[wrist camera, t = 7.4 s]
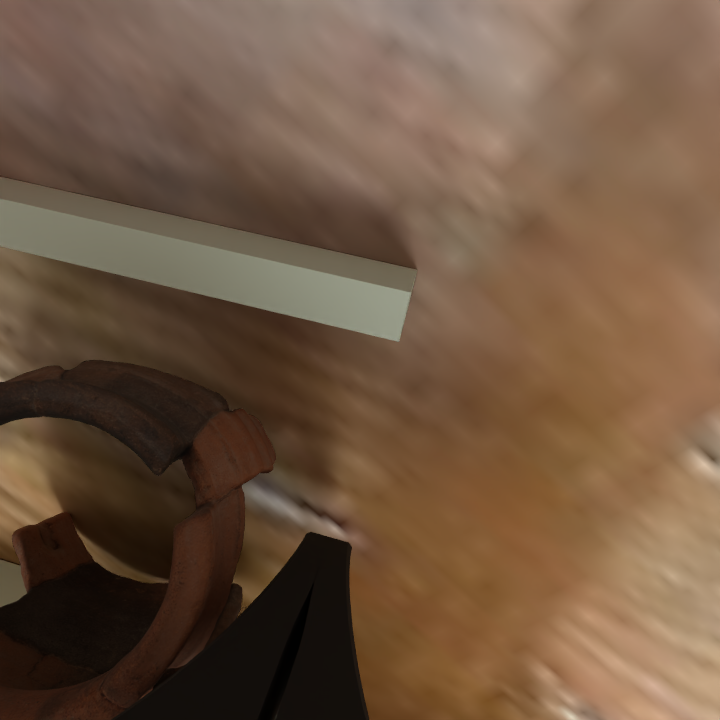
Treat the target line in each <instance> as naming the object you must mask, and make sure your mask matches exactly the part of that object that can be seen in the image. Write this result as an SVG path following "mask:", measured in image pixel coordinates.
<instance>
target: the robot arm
mask: <svg viewBox="0 0 720 720" xmlns="http://www.w3.org/2000/svg"><path fill="white" fill-rule="evenodd" d="M351 549H352V547H351V545H350V544H349V543H348V542H345V541H341V540H338V539H334V538H331V537H327V536H324V535H320V534H317V533H313V532H310V533H307V534H306V535H305V537H304V539H303V541H302V542H301V544H300V545H299V547H298V548H297V550H296V551H295V552H294V554H293V555H292V557H291V558H290V559H289V560H288V562H287V563H286V564H285V566H284V567H283V568H282V569H281V571H280V572H279V573H278V574H277V575H276V576H275V578H274V579H273V580H272V581H271V582H270V584H269V585H268V586H267V587H266V588H265V589H264V591H263V592H262V593H261V594H260V595H259V596H258V597H257V598H256V599H255V600H254V601H253V602H252V603H251V604H250V605H249V606H248V607H247V609H246V610H245V611H244V612H243V613H242V614H241V615H240V616H239V617H238V618H237V619H236V620H235V621H234V622H233V623H232V624H231V625H230V626H229V627H228V628H227V629H225V630H224V631H223V632H222V633H221V634H220V635H219V636H218V637H217V638H216V639H215V640H213V641H212V642H211V643H210V644H209V645H208V646H207V647H206V648H204V649H203V650H202V651H201V652H200V653H199V654H197V655H196V656H195V657H194V658H193V659H191V660H190V661H189V662H188V663H187V664H185V665H184V666H183V667H182V668H181V669H179V670H178V671H177V672H176V673H174V674H173V675H172V676H171V677H169V678H168V679H167V680H165V681H164V682H163V683H161V684H160V685H159V686H157V687H156V688H155V689H153V690H152V691H150V692H149V693H148V694H146V695H145V696H144V697H142V698H141V699H139V700H138V701H137V702H135V703H134V704H133V705H131V706H130V707H129V708H127V709H126V710H124V711H123V712H121V713H120V714H119V715H117V716H116V717H114V718H113V719H111V720H369V716H368V712H367V708H366V703H365V699H364V694H363V689H362V684H361V679H360V674H359V668H358V662H357V656H356V649H355V643H354V635H353V627H352V617H351V605H350V588H349V568H350V555H351Z"/></svg>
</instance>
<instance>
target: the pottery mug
mask: <svg viewBox="0 0 720 720" xmlns="http://www.w3.org/2000/svg"><path fill="white" fill-rule="evenodd" d="M42 416H45V417H53V418H65V419H71V420H76V421H80V422H83V423H86V424H90V425H92V426H95V427H97V428H100V429H102V430H104V431H106V432H107V433H109V434H111V435H112V436H114V437H115V438H117V439H119V440H120V441H121V442H123V443H124V444H125V445H127V446H128V447H129V448H131V449H132V450H133V451H134V452H135V453H136V454H137V455H138V456H139V457H140V458H141V459H142V460H143V461H144V463H145V464H146V465H147V466H148V467H149V469H150V470H151V471H152V472H153V473H154V474H155V475H158V476H160V475H161V474H162V473H163V472H164V471H165V470H166V469H167V468H168V467H169V465H171V464H172V462H175V461H176V460H178V459H182V461H183V464H184V466H185V469H186V471H187V474H188V476H189V478H190V479H191V481H192V483H193V486H194V489H195V500H196V511H195V512H194V513H193V514H191V515H190V516H189V517H187V518H186V519H185V520H184V521H181V522H180V523H178V524H177V525H176V526H175V528H174V546H173V554H172V565H171V571H170V579H169V583H156V584H149V583H142V582H138V581H135V580H132V579H129V578H126V577H121V576H118V575H115V574H113V573H111V572H109V571H107V570H106V569H104V568H103V567H102V566H100V565H99V564H98V563H96V562H95V561H94V560H93V558H92V556H91V555H90V554H89V552H88V551H87V549H86V548H85V546H84V544H83V542H82V540H81V539H80V537H79V536H78V534H77V531H76V529H75V526H74V524H73V521H72V518H71V515H70V514H69V513H67V512H64V513H61V514H58V515H56V516H53V517H51V518H48V519H46V520H44V521H42V522H40V523H38V524H36V525H28V526H25V527H22V528H20V529H18V530H16V531H15V532H14V533H13V535H12V542H13V547H14V549H15V552H16V554H17V556H18V558H19V561H20V564H21V575H22V578H23V582H24V586H25V589H26V591H27V594H25V595H24V596H22V597H21V598H20V599H19V600H17V601H15V602H13V603H10V604H7V605H4V606H2V607H0V720H111V719H113V718H114V717H116V716H117V715H119V714H120V713H121V712H123V711H124V710H126V709H127V708H129V707H130V706H131V705H133V704H134V703H135V702H137V701H138V700H139V699H141V698H142V697H144V696H145V695H146V694H148V693H149V692H150V691H152V690H153V689H155V688H156V687H157V686H159V685H160V684H161V683H163V682H164V681H165V680H167V679H168V678H169V677H171V676H172V675H173V674H174V673H176V672H177V671H178V670H179V669H181V668H182V667H183V666H184V665H185V664H187V663H188V662H189V661H190V660H191V659H193V658H194V657H195V656H196V655H197V654H199V653H200V652H201V651H202V650H203V649H204V648H206V647H207V646H208V645H209V644H210V643H211V642H212V641H213V640H215V639H216V638H217V637H218V636H219V635H220V634H221V633H222V632H223V631H224V630H225V629H227V628H228V627H229V626H230V625H231V624H232V623H233V622H234V621H235V620H236V619H237V615H238V613H239V611H240V609H241V602H242V587H241V586H240V585H238V584H235V583H233V584H232V581H233V577H234V574H235V569H236V565H237V563H238V560H239V556H240V552H241V549H242V543H243V536H244V526H245V503H244V500H245V497H244V492H243V490H242V485H243V484H244V483H246V482H248V481H249V480H251V479H252V478H254V477H255V476H256V475H258V474H259V473H269V472H271V471H272V470H273V464H274V463H275V460H276V455H275V452H274V449H273V447H272V444H271V442H270V440H269V438H268V437H267V435H266V433H265V431H264V429H263V427H262V425H261V423H260V422H259V421H258V419H257V418H256V417H254V416H252V415H250V414H247V413H246V411H245V410H244V409H238V410H234V411H229V408H228V404H227V401H226V400H225V399H224V398H223V397H222V396H221V395H219V394H218V393H216V392H213V391H211V390H208V389H206V388H204V387H202V386H199V385H197V384H195V383H193V382H191V381H188V380H184V379H182V378H179V377H176V376H173V375H171V374H168V373H164V372H161V371H158V370H155V369H151V368H147V367H143V366H138V365H134V364H128V363H120V362H110V361H101V360H89V361H84V362H82V363H81V364H80V365H78V366H77V367H75V368H74V369H71V370H64V369H63V368H61V367H60V366H47V367H43V368H41V369H38V370H34V371H31V372H27V373H24V374H22V375H19V376H17V377H15V378H13V379H11V380H9V381H5V382H0V425H3V424H5V423H8V422H10V421H14V420H18V419H23V418H32V417H42Z"/></svg>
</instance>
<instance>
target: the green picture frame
mask: <svg viewBox="0 0 720 720" xmlns="http://www.w3.org/2000/svg"><path fill="white" fill-rule="evenodd" d="M0 246H1V247H5V248H9V249H13V250H17V251H21V252H26V253H30V254H34V255H38V256H42V257H46V258H51V259H55V260H59V261H63V262H67V263H72V264H76V265H80V266H84V267H88V268H92V269H97V270H101V271H105V272H109V273H113V274H118V275H122V276H126V277H130V278H134V279H138V280H143V281H147V282H151V283H155V284H159V285H163V286H168V287H172V288H176V289H180V290H184V291H189V292H193V293H197V294H201V295H205V296H209V297H214V298H218V299H222V300H226V301H230V302H235V303H239V304H243V305H247V306H251V307H255V308H260V309H264V310H268V311H272V312H276V313H280V314H285V315H289V316H293V317H297V318H301V319H306V320H310V321H314V322H318V323H322V324H326V325H331V326H335V327H339V328H343V329H347V330H352V331H356V332H360V333H364V334H368V335H372V336H377V337H381V338H385V339H389V340H393V341H397V342H399V340H400V336H401V333H402V329H403V325H404V321H405V318H406V314H407V310H408V307H409V303H410V298H411V294H412V290H413V286H414V282H415V278H416V274H417V270H416V269H412V268H407V267H403V266H398V265H394V264H389V263H385V262H380V261H376V260H371V259H367V258H362V257H358V256H353V255H349V254H344V253H340V252H336V251H331V250H327V249H322V248H318V247H313V246H309V245H304V244H300V243H295V242H291V241H286V240H282V239H277V238H273V237H268V236H264V235H260V234H255V233H251V232H246V231H242V230H237V229H233V228H228V227H224V226H219V225H215V224H210V223H206V222H201V221H197V220H192V219H188V218H184V217H179V216H175V215H170V214H166V213H161V212H157V211H152V210H148V209H143V208H139V207H134V206H130V205H125V204H121V203H116V202H112V201H108V200H103V199H99V198H94V197H90V196H85V195H81V194H76V193H72V192H67V191H63V190H58V189H54V188H49V187H45V186H40V185H36V184H32V183H27V182H23V181H18V180H14V179H9V178H5V177H0ZM25 594H27V591H26V589H25V586H24V582H23V578H22V575H21V566H20V565H16V564H13V563H10V562H7V561H3V560H0V607H2V606H4V605H7V604H10V603H13V602H15V601H17V600H19V599H20V598H21V597H22V596H24V595H25Z"/></svg>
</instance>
